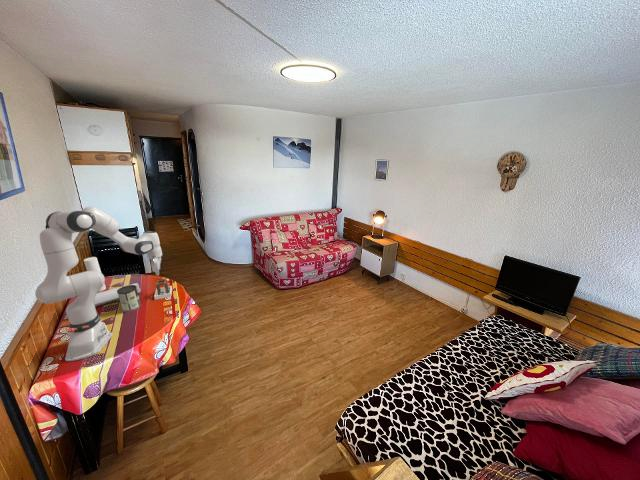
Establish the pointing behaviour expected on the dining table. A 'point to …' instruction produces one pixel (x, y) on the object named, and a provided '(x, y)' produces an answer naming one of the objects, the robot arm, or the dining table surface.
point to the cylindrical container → (93, 267)
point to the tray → (109, 296)
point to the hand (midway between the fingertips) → (158, 271)
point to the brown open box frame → (160, 285)
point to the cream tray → (163, 294)
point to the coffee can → (129, 297)
